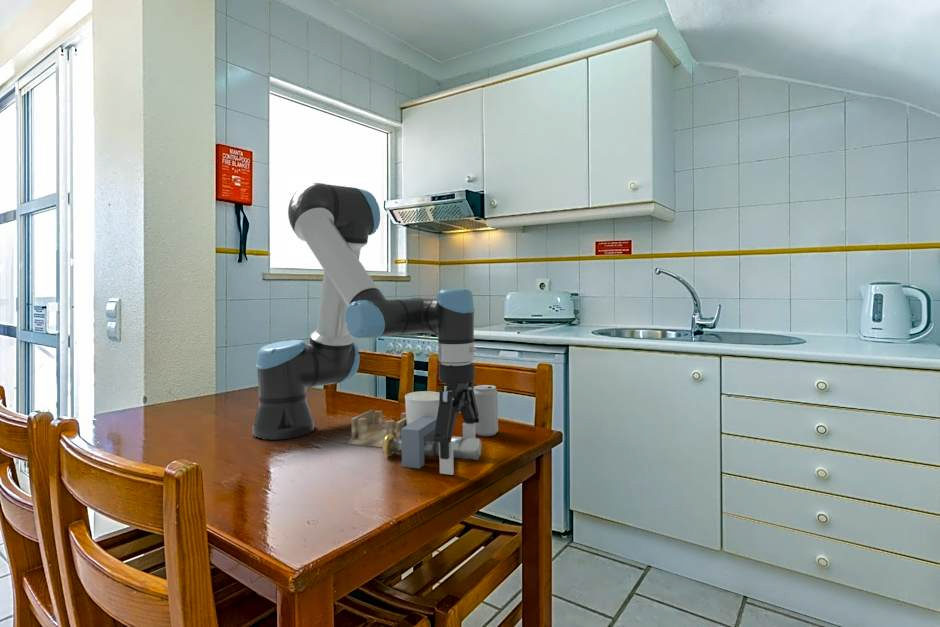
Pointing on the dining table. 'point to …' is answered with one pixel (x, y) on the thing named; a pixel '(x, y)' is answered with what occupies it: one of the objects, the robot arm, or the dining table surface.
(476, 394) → the beverage can
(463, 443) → the axle
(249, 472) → the dining table surface
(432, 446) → the drift plunger
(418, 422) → the grey arch block
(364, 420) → the cradle
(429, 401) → the white cup
